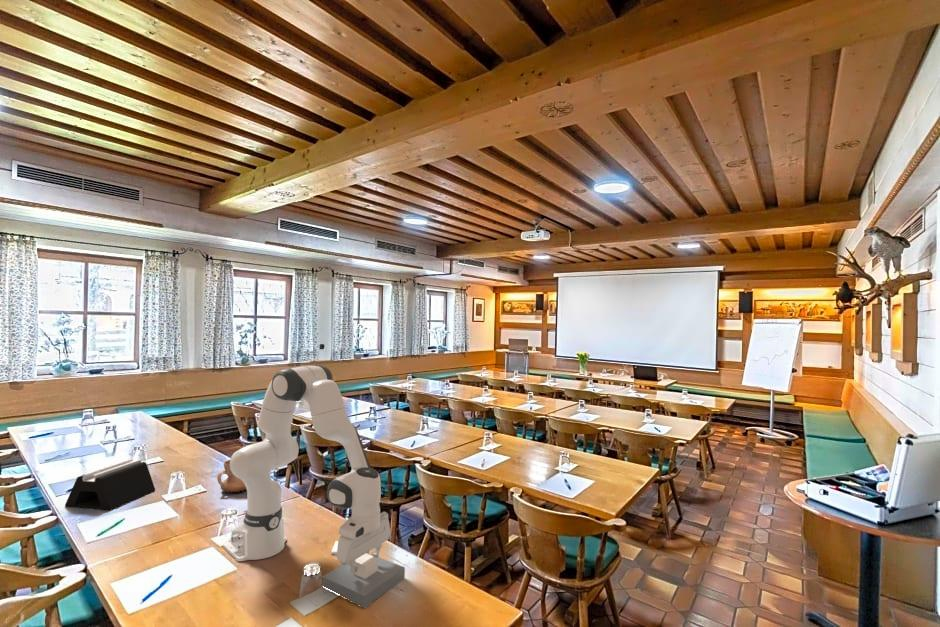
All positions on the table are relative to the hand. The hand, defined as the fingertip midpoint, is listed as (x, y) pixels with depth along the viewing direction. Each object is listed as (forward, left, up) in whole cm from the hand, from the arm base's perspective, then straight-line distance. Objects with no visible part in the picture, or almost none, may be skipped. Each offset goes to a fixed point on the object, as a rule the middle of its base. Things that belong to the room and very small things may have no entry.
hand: (364, 565), depth 138 cm
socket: (0, 0, -6) cm, 6 cm away
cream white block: (0, 0, -6) cm, 6 cm away
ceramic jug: (-107, +22, -6) cm, 109 cm away
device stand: (-143, -15, -6) cm, 144 cm away
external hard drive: (-19, +13, -6) cm, 24 cm away
